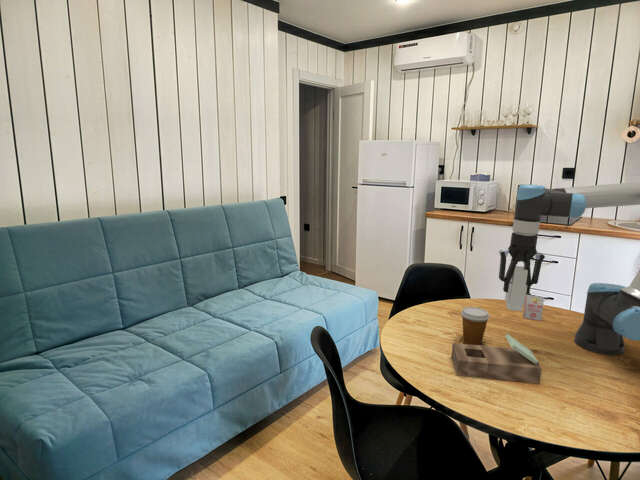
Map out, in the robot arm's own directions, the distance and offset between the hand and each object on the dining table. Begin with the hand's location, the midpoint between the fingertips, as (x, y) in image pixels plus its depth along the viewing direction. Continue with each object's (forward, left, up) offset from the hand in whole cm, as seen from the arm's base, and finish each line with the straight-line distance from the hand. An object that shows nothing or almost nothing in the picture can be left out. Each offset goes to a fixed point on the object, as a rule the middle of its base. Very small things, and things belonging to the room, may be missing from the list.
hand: (514, 302), depth 137 cm
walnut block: (+7, +11, -19) cm, 23 cm away
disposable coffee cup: (+10, -8, -20) cm, 23 cm away
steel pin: (0, 0, -2) cm, 2 cm away
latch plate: (0, +11, -12) cm, 16 cm away
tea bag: (-19, -37, -20) cm, 46 cm away
